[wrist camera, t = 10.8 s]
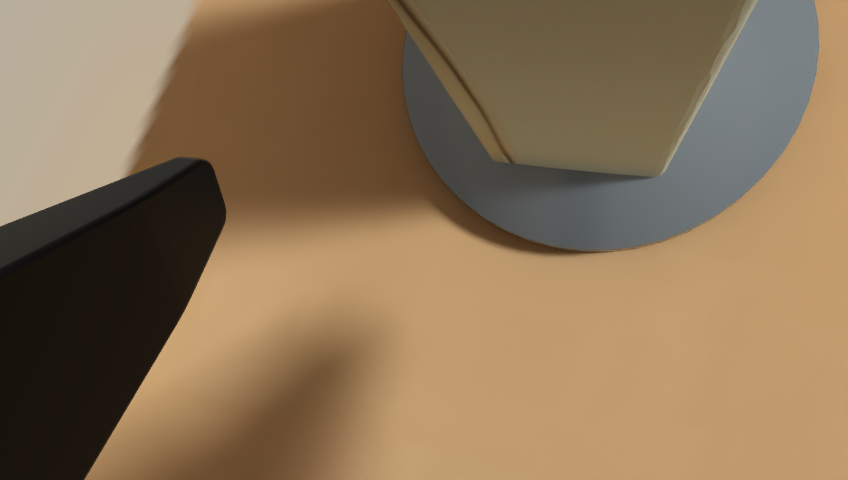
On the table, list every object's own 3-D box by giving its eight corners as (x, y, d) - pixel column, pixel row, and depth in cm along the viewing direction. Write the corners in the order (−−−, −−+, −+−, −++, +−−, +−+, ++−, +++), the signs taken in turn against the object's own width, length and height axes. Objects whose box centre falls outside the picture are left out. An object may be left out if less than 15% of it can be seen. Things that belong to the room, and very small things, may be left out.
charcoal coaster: (575, 333, 17) (574, 334, 16) (342, 62, 19) (331, 51, 19) (907, 60, 16) (923, 46, 15) (613, -191, 18) (613, -214, 17)
